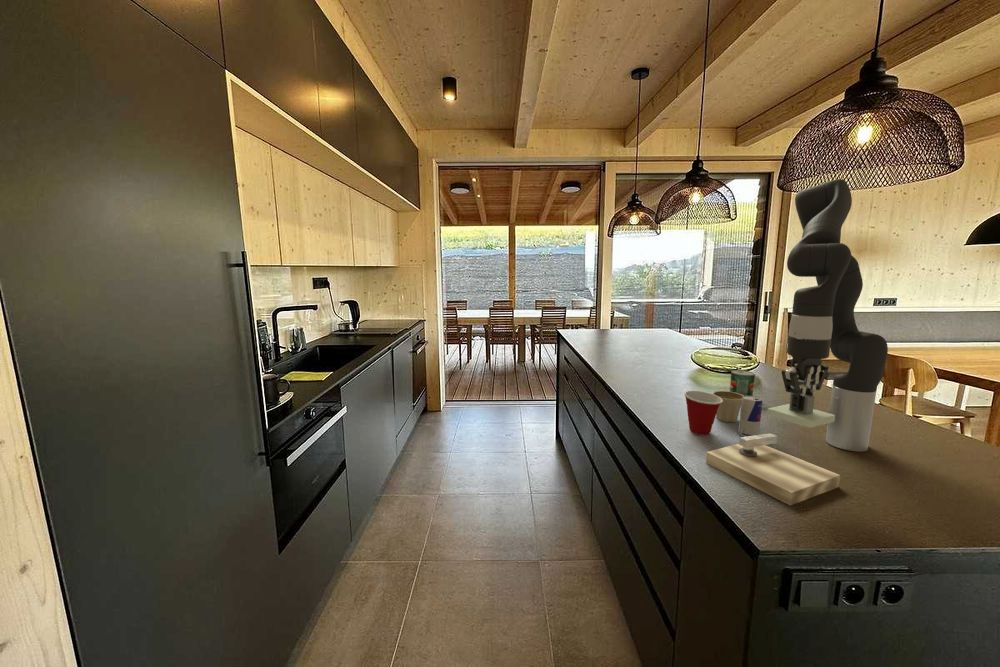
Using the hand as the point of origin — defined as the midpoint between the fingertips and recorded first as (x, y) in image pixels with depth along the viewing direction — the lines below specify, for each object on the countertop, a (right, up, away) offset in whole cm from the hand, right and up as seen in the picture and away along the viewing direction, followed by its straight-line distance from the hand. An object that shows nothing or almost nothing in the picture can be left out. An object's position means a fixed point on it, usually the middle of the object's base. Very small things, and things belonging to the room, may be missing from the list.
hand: (801, 409), depth 90 cm
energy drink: (+8, -14, +31) cm, 35 cm away
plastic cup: (-6, -14, +34) cm, 37 cm away
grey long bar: (-1, -13, +13) cm, 19 cm away
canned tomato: (+26, -9, +64) cm, 70 cm away
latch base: (-2, -18, +8) cm, 20 cm away
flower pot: (+8, -12, +44) cm, 46 cm away
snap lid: (0, -2, 0) cm, 2 cm away
